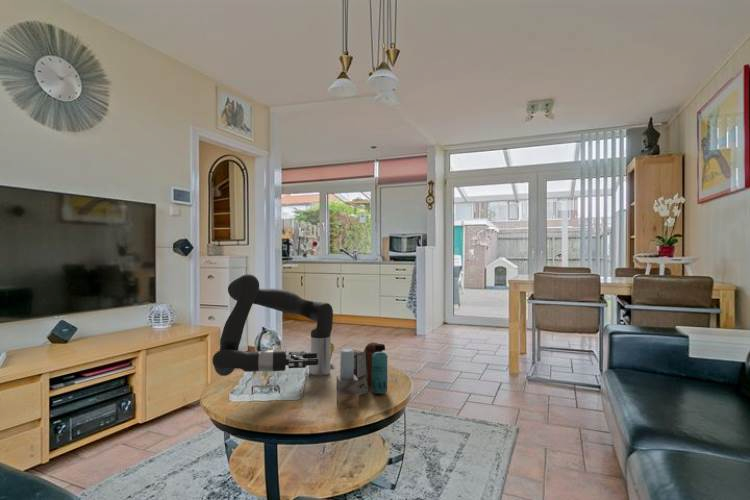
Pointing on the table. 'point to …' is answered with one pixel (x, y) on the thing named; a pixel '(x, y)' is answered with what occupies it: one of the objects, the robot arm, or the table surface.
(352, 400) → the tower base
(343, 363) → the dowel
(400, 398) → the table surface
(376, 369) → the beverage bottle
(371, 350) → the wooden figurine
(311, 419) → the table surface
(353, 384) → the tower top
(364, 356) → the coffee box
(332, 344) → the plant pot
